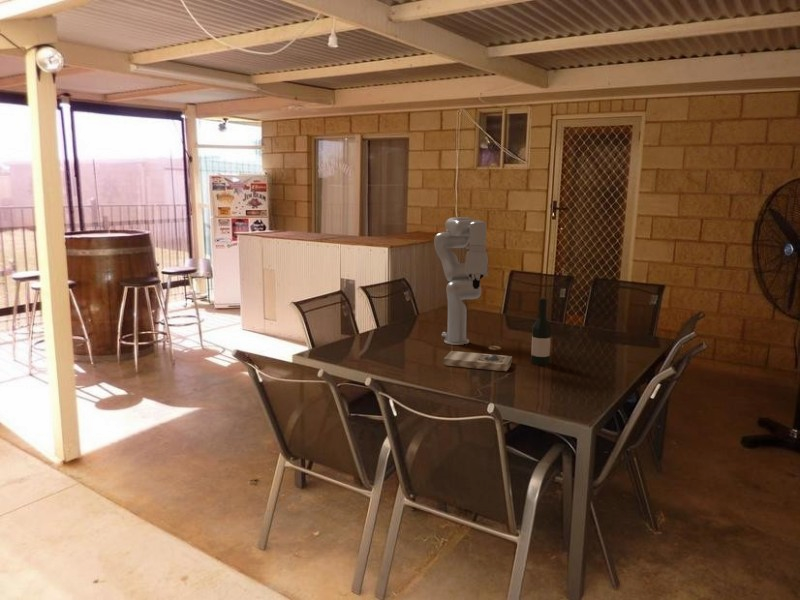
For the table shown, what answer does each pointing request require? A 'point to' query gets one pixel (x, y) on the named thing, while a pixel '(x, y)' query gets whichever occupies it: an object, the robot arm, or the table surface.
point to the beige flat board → (477, 361)
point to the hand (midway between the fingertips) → (476, 288)
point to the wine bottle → (541, 337)
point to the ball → (493, 357)
